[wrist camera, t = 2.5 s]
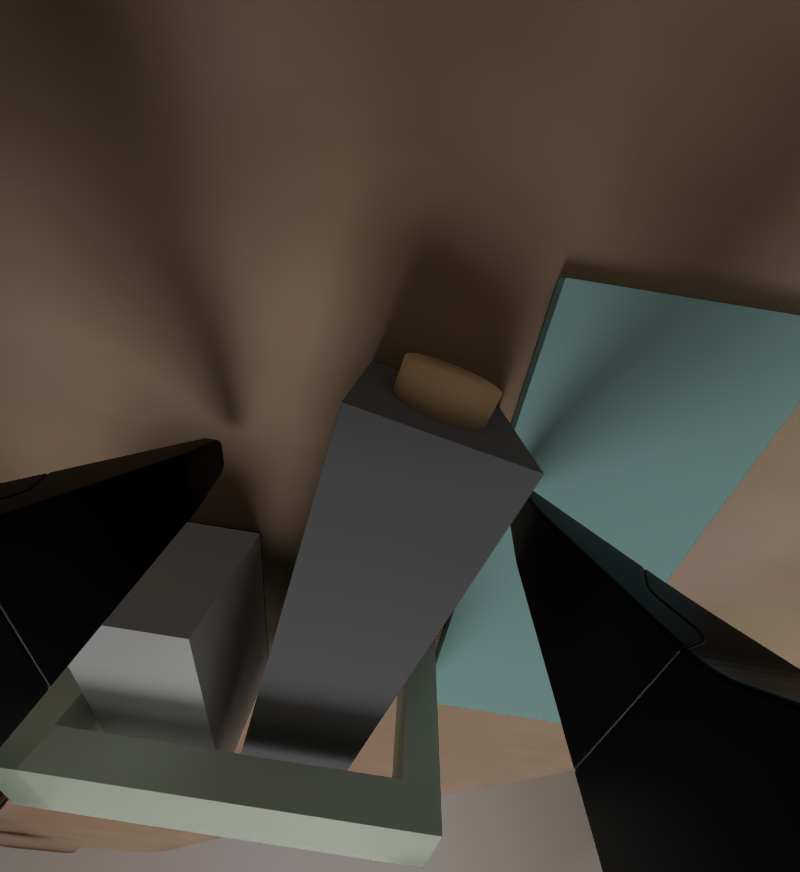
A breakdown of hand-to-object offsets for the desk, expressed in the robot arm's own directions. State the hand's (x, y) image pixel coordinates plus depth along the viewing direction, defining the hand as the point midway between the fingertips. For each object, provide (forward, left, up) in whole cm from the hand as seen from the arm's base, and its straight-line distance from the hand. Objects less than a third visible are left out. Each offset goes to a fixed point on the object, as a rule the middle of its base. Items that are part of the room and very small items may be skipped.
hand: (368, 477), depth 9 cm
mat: (-3, -8, -1) cm, 8 cm away
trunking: (-8, +6, -1) cm, 10 cm away
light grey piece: (-10, +3, -1) cm, 10 cm away
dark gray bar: (-5, 0, -1) cm, 5 cm away
